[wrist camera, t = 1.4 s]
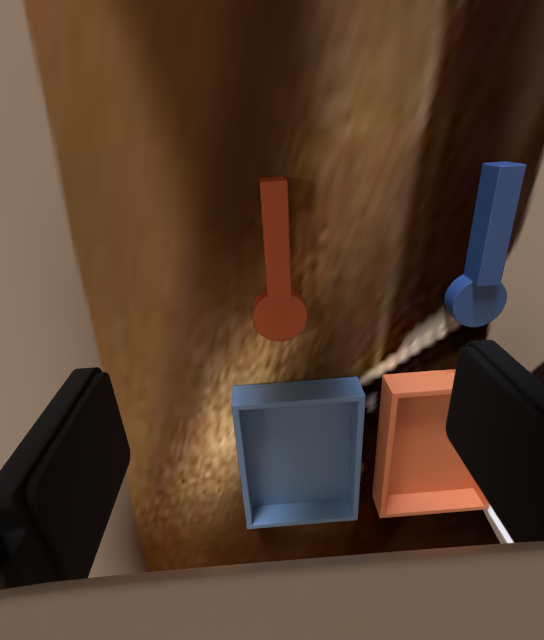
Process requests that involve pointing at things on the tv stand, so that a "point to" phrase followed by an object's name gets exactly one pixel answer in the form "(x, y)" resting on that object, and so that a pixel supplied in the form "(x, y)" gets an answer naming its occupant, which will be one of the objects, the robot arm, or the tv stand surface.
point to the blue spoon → (487, 247)
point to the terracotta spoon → (277, 268)
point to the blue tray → (299, 450)
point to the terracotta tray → (419, 450)
